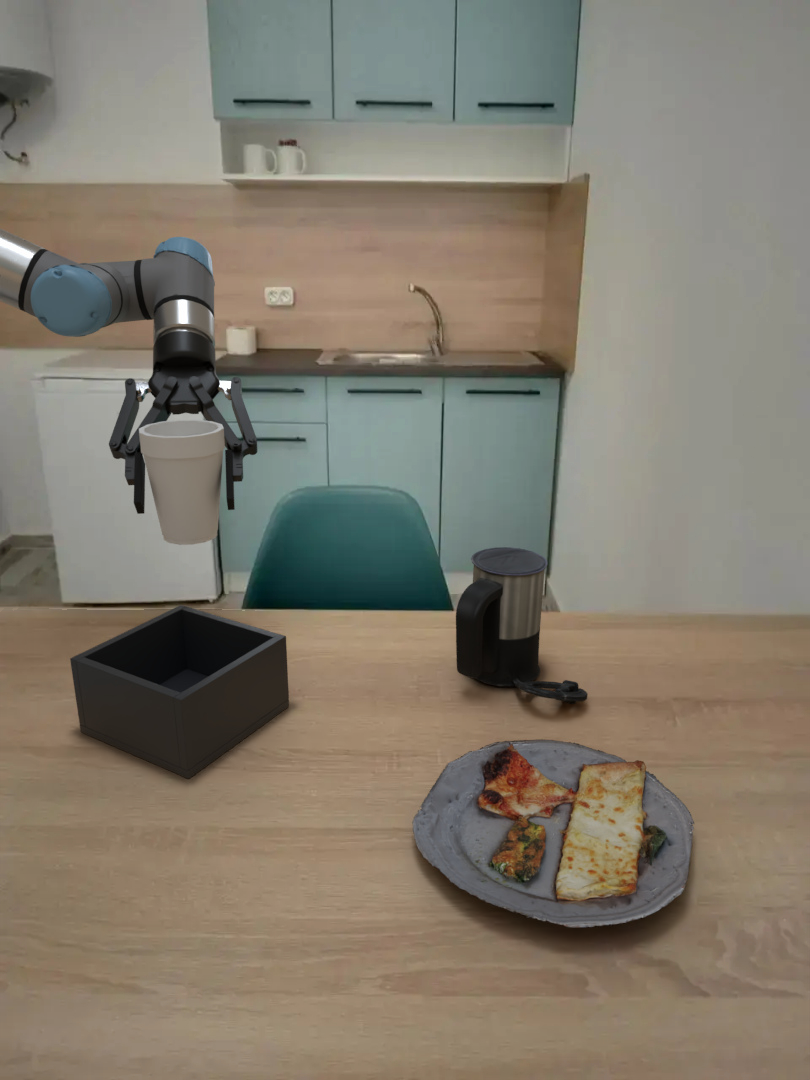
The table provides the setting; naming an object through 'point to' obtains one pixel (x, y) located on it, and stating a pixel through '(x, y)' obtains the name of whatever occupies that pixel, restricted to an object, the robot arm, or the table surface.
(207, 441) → the foam cup
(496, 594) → the milk frother
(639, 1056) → the table surface
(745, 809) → the table surface
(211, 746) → the black storage bin
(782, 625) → the table surface
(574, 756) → the food plate
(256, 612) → the table surface
